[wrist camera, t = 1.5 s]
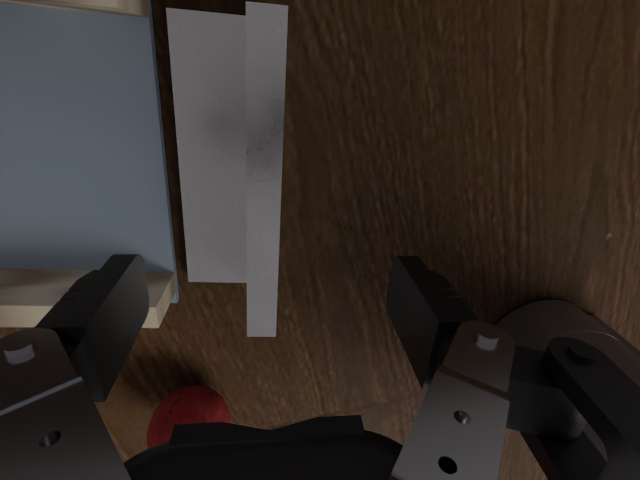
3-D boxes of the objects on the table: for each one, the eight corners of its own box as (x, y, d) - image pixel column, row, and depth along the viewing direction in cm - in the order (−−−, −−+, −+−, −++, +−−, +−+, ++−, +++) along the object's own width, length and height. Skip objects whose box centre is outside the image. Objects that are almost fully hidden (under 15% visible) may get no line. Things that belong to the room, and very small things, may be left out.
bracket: (172, 10, 20) (122, -12, 14) (286, 22, 20) (288, 5, 14) (192, 272, 27) (165, 336, 20) (277, 274, 27) (275, 336, 21)
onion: (175, 354, 29) (140, 450, 22) (245, 373, 31) (234, 468, 23) (155, 404, 31) (117, 507, 24) (222, 419, 33) (205, 521, 26)
